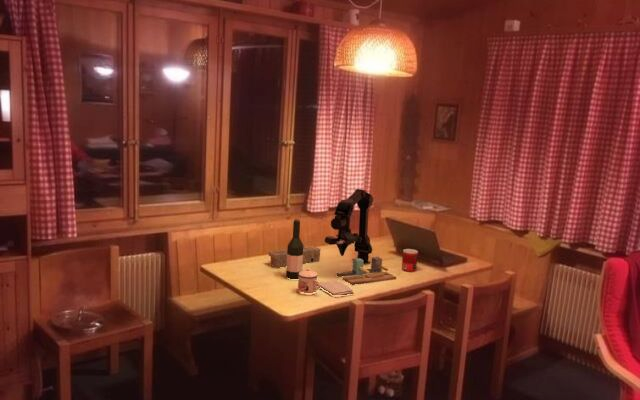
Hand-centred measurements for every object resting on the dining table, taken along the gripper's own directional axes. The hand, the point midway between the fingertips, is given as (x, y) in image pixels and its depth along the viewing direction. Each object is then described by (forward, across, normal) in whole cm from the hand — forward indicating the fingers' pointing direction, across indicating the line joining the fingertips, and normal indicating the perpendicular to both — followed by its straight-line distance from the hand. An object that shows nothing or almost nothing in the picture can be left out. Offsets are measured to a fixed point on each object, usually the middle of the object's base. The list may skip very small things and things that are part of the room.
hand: (341, 255), depth 291 cm
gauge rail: (+11, +12, -4) cm, 17 cm away
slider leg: (+11, +10, -4) cm, 15 cm away
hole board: (+11, +12, -9) cm, 19 cm away
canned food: (+11, +41, -4) cm, 43 cm away
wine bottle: (+11, -24, +6) cm, 27 cm away
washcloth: (+12, -14, -17) cm, 25 cm away
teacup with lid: (+11, -27, -16) cm, 33 cm away
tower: (+12, -13, +28) cm, 32 cm away
